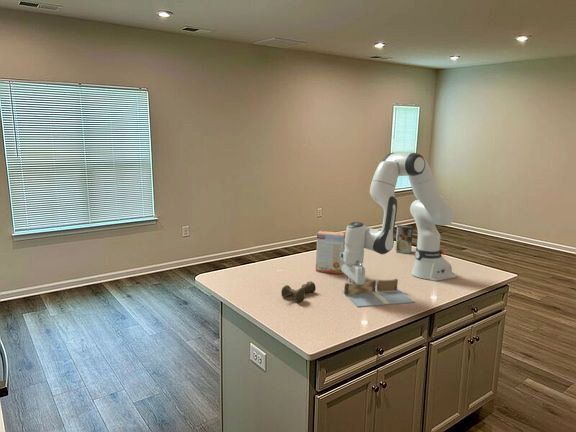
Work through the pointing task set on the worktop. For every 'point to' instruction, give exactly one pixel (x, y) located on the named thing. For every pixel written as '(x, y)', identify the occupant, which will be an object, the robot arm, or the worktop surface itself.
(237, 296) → the worktop surface
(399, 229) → the coffee box
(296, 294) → the kendama
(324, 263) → the cracker box
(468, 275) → the worktop surface
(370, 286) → the tan wooden bar
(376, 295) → the card
